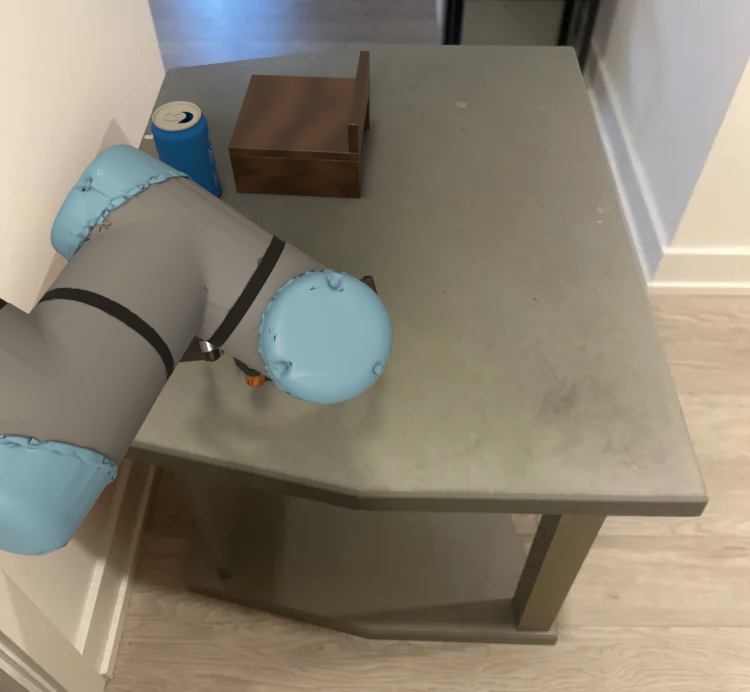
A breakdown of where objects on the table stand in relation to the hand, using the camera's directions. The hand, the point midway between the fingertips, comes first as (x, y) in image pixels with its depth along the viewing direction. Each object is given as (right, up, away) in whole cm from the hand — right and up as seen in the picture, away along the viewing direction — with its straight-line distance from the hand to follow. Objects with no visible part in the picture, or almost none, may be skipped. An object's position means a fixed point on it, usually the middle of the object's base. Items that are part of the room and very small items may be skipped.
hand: (263, 314), depth 75 cm
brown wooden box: (+2, +22, +25) cm, 33 cm away
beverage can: (-12, +16, +20) cm, 28 cm away
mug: (0, -4, +4) cm, 6 cm away
